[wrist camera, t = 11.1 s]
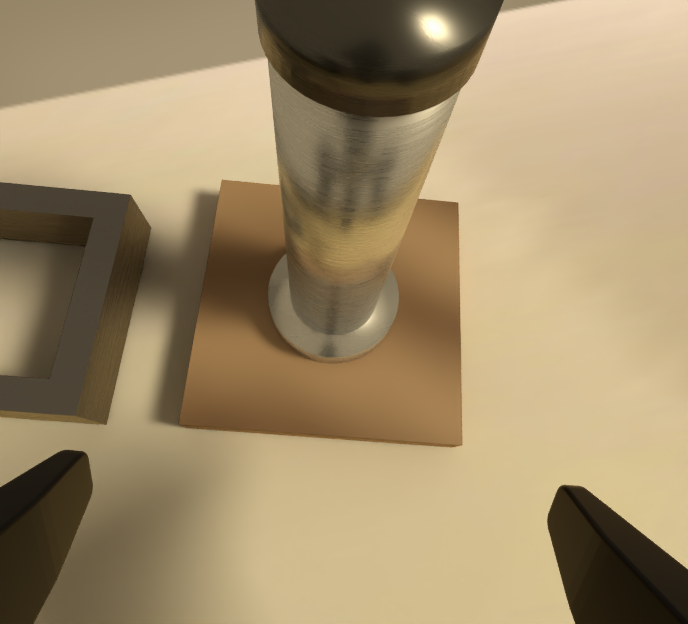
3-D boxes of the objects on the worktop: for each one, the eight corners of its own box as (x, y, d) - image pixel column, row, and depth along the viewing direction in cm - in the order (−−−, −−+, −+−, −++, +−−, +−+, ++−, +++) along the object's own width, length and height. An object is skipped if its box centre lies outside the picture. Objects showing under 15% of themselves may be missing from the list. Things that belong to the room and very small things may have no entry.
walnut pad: (452, 447, 18) (462, 445, 17) (186, 427, 18) (178, 424, 17) (450, 217, 22) (458, 202, 20) (226, 195, 21) (222, 179, 20)
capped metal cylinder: (359, 386, 18) (479, 170, 5) (246, 325, 18) (115, -3, 6) (414, 281, 19) (604, -75, 7) (308, 227, 20) (309, -196, 7)
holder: (106, 424, 18) (75, 416, 15) (-126, 407, 17) (-195, 396, 15) (151, 227, 20) (130, 194, 18) (-49, 209, 20) (-96, 173, 18)
